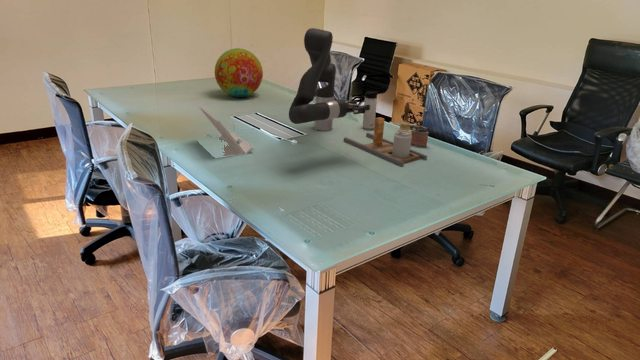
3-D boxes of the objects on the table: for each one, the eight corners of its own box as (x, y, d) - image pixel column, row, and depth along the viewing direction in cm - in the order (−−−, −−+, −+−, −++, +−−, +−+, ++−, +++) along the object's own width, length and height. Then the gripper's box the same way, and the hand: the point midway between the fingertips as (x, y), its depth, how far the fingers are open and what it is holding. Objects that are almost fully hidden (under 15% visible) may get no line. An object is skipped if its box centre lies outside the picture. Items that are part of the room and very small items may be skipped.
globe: (259, 103, 282) (259, 53, 270) (211, 101, 282) (208, 50, 270) (265, 92, 309) (265, 46, 297) (221, 90, 309) (219, 44, 297)
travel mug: (374, 130, 238) (377, 92, 230) (361, 129, 239) (364, 91, 231) (375, 127, 243) (378, 90, 235) (363, 126, 245) (366, 89, 237)
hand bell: (393, 132, 236) (396, 102, 230) (402, 129, 242) (405, 99, 235) (406, 136, 231) (410, 105, 225) (415, 133, 237) (419, 103, 230)
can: (390, 154, 206) (392, 129, 201) (406, 154, 206) (409, 129, 202) (394, 160, 199) (397, 134, 194) (410, 160, 200) (414, 134, 195)
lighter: (427, 146, 218) (429, 126, 214) (426, 148, 215) (429, 128, 211) (410, 144, 221) (412, 124, 217) (409, 146, 218) (411, 125, 214)
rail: (426, 160, 201) (427, 155, 200) (400, 167, 192) (401, 162, 191) (368, 136, 229) (368, 132, 228) (343, 141, 220) (343, 137, 219)
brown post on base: (419, 159, 201) (424, 128, 196) (400, 164, 195) (404, 132, 189) (382, 143, 219) (384, 115, 213) (363, 147, 212) (365, 118, 207)
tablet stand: (214, 159, 193) (212, 120, 186) (196, 142, 212) (193, 106, 205) (254, 153, 202) (253, 115, 195) (233, 136, 221) (232, 102, 214)
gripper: (344, 104, 183) (374, 99, 192) (323, 97, 193) (352, 93, 202) (343, 122, 186) (373, 117, 195) (322, 114, 196) (351, 109, 205)
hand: (362, 105), depth 198 cm, fingers open, 8 cm apart
